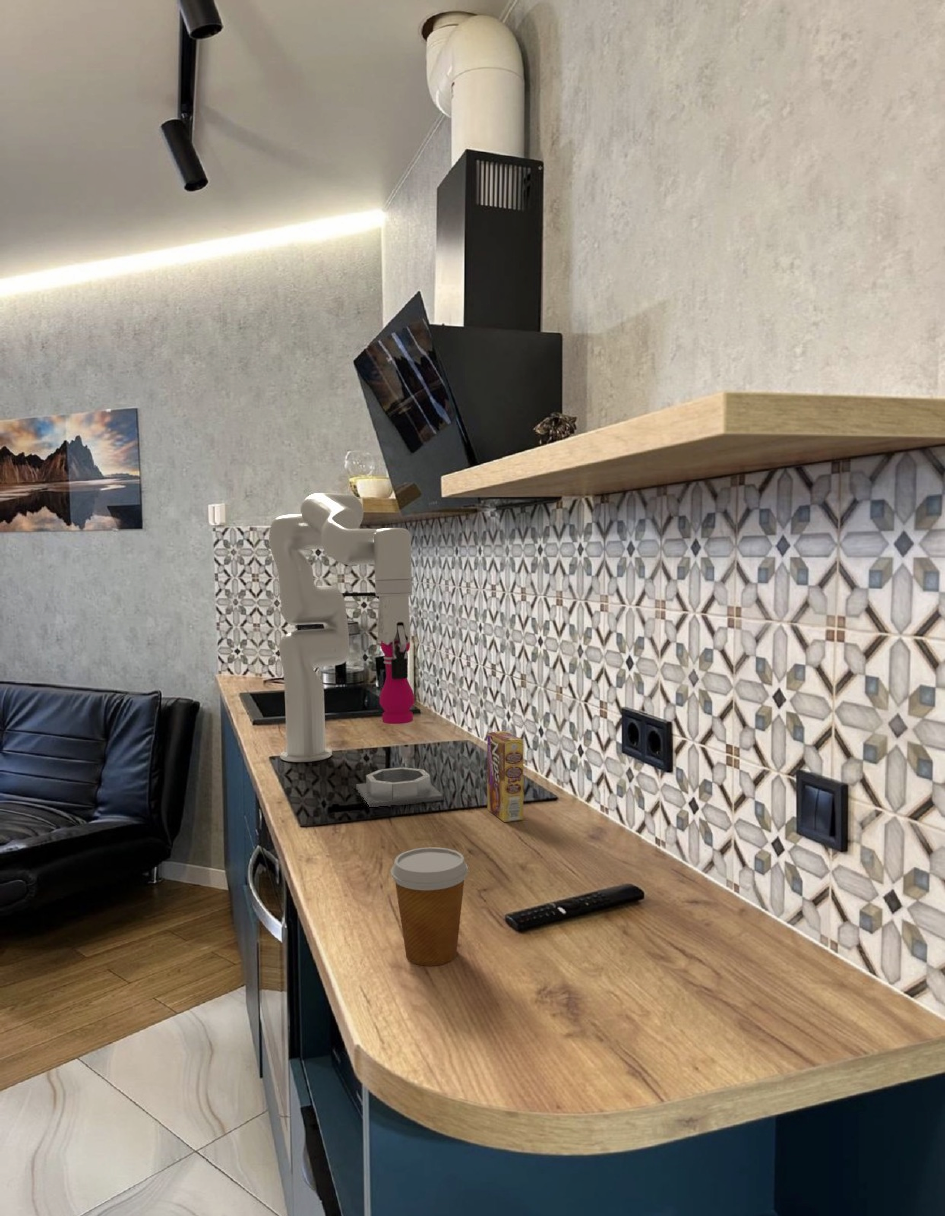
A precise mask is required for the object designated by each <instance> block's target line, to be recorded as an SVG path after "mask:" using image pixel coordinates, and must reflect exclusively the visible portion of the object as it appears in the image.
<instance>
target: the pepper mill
mask: <svg viewBox="0 0 945 1216" xmlns="http://www.w3.org/2000/svg"><path fill="white" fill-rule="evenodd" d="M405 638H406V635H405ZM406 640H407V639H406ZM410 641H411V640H410ZM410 641H409V643H407V641H406V643H407V646H406V651H407V653H408V652H409V650H410V649H411V643H410ZM395 643H399V641H394V644H395ZM395 648H397V647H395ZM380 649H381V651H382V652H383V654H384V655H385V656H383V659H384V661H383V664H384V665H385V664H386V670H387V673H385V676H386V677H385V681H384V684H383V687H382V688H381V692H380V695H379V705H380V707H381V708H382V709H383V711H384V712H383V713H382V715H381V716H382V719H381V720H382V723H384V724H387V725H400V724H401V725H405V724H409V723H411V722H413V720H414V714H413V712H412V710H411V708H413V706H414V704H415V700H416V699H415V694H414V692H413V691H414V690H413V688H412V687H411V684H410V682H409V680H408V677H407V678H405V679H392V673H391V659H393V656H392V642H390V645H386V644H384V643H383V641H381V642H380ZM408 658H409V656H408V655H407V663H409V660H408Z"/></svg>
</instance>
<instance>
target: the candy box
mask: <svg viewBox="0 0 945 1216" xmlns="http://www.w3.org/2000/svg"><path fill="white" fill-rule="evenodd" d="M486 741H487V742H486V744H487V745H486V746H487V747H486V749H487V753H486V754H487V755H486V758H487V759H486V760H487V765H486V766H487V767H486V768H487V770H486V771H487V772H486V773H487V775H486V777H487V778H486V779H487V780H486V781H487V786H486V787H487V788H486V789H487V797H486V798H487V811H488V812H490V813H491V814H493V815H494V816H496V817H497V819H499V820H501V821H503V822H504V823H508V822H509V823H510V822H518V821H523V820H524V749H525V748H524V743H525V742H524V739H522V738H521V737H517V736H516V735H515V734H512V733H510V732H508V731H505V730H500V731H499V730H498V731H489V732H487V734H486Z"/></svg>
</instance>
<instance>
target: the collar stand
mask: <svg viewBox="0 0 945 1216" xmlns="http://www.w3.org/2000/svg"><path fill="white" fill-rule="evenodd" d="M365 779H366V780H365V782H364V783H356V784H355V789H356V791H357V790H358V791H357V792H358V793H360V794H359V796H360V797H361V798H362V797H363V798H364V799H363V798H362V799H363V801H364V800H365V801H366V802H367V804H368V805H369V807H379V806H388V807H392V806H391V805H397V806H402V805H403V806H405V805H412V804H413V805H414V804H423V803H422V802H424V803H431V802H433V803H434V802H440V801H444V795H443V794H442V793H441V792H440V791H439V790H438V789H437V788H436V787H435V786H434V785H433V784H432V783H431V775H430V774H429V773H428V772H427V771H426V770H425V769H421V768H411V767H406V766H405V767H404V766H403V767H391V768H384V769H383V768H381V769H378V770H375V771H373V772H370V773H369V774H366V775H365ZM365 801H364V802H365ZM366 802H365V803H366ZM367 804H366V805H367ZM368 805H367V806H368ZM369 807H368V808H369ZM379 808H380V807H379Z"/></svg>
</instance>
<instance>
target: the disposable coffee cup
mask: <svg viewBox="0 0 945 1216" xmlns="http://www.w3.org/2000/svg"><path fill="white" fill-rule="evenodd" d="M468 871H469V868H468V865H467V863H466V862H465V857H464V856H463V854H462V853H460V852H459V851H457V850H454V849H451V848H447V847H435V846H434V847H433V846H431V847H429V846H428V847H421V848H420V847H418V848H414V849H413V848H412V849H410V850H407V851H403V852H402V853H400V854H398V855H397V856H396V857H395V858H394V862H393V866H392V867H391V869H390V875H391V877H392V879H393V882H394V883H395V889H396V897H397V898H396V899H397V903H398V909H399V916H400V924H401V931H402V935H403V944H404V951H405V957H406V959H407V960H408V961H409V962H411V963H413V964H415V965H418V966H426V967H431V966H433V967H434V966H439V965H444V964H447V963H449V962H451V961H452V960H453V959H455V958H456V957H457V951H458V943H459V935H460V934H459V933H460V924H461V913H462V906H463V905H462V904H463V903H462V902H463V894H464V886H465V879H466V876H467V874H468Z"/></svg>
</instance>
